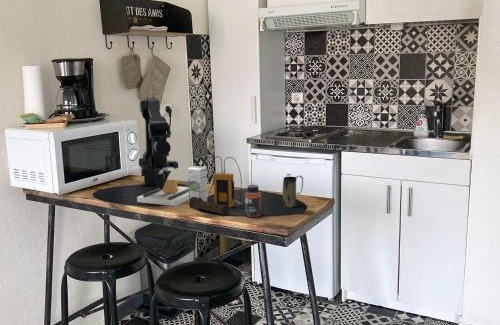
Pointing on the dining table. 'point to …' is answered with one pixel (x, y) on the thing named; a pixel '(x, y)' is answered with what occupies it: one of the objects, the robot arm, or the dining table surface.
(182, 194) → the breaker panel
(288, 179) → the mug
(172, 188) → the lever
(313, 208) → the dining table surface
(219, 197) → the multimeter
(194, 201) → the hand tool
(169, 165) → the robot arm
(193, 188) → the syrup box
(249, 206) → the supplement bottle
